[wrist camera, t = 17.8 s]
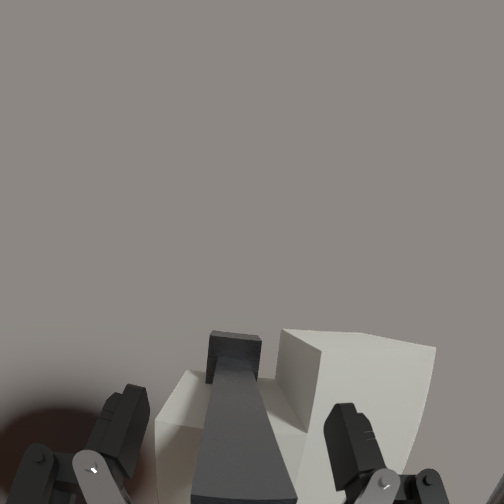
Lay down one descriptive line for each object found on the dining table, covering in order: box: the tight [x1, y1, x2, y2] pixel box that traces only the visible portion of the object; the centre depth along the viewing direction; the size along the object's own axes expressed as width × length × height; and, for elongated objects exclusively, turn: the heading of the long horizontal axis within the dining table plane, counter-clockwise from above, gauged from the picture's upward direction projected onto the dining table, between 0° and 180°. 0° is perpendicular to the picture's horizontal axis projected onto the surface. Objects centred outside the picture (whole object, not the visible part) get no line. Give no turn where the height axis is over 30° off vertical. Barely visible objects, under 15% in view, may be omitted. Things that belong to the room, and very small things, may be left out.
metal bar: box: [190, 331, 298, 504], centre depth 17 cm, size 24×5×5 cm, turn 4°
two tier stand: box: [155, 329, 436, 504], centre depth 20 cm, size 14×20×34 cm
